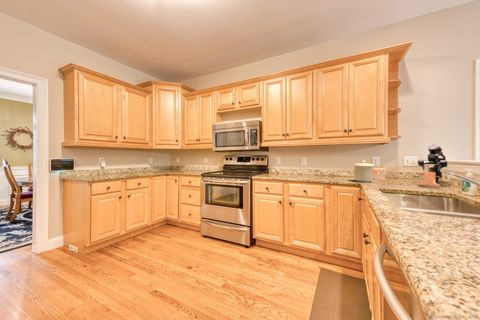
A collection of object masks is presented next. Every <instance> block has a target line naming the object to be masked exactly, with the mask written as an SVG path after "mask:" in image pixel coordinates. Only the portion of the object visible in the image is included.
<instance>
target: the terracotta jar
mask: <svg viewBox="0 0 480 320" xmlns="http://www.w3.org/2000/svg"><path fill="white" fill-rule="evenodd" d="M423 175H424V178H423V179H424V180H423V182H422V183H423V184H426V185H437V183H435V172H428V171H425V172H424V174H423Z"/></svg>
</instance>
